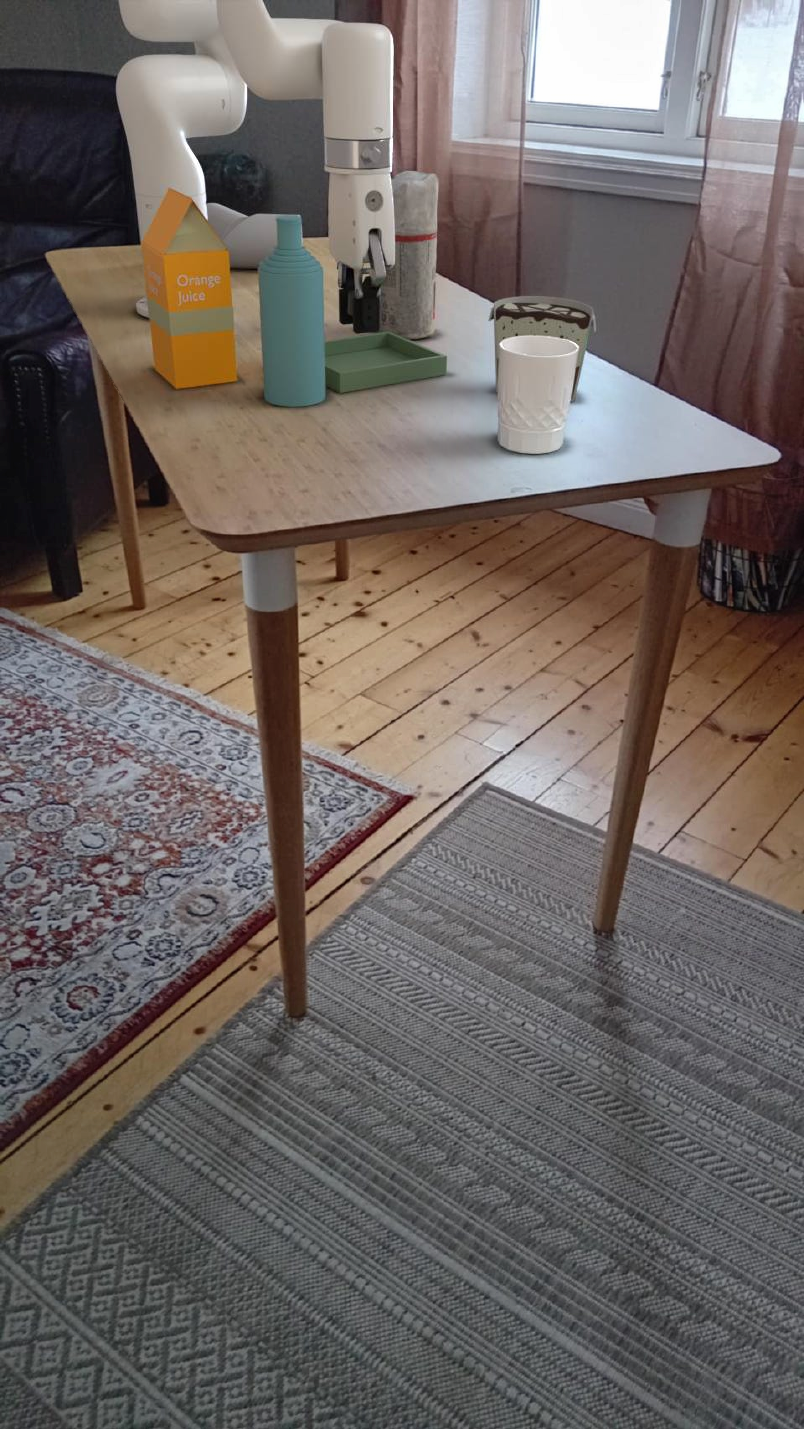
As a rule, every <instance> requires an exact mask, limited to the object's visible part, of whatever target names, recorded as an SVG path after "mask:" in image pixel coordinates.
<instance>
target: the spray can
mask: <svg viewBox="0 0 804 1429" xmlns="http://www.w3.org/2000/svg"><path fill="white" fill-rule="evenodd" d="M439 183H440V179H439V177H438V176H437V174H435V173H424V172H418V170H405V171H402V172H400V173H398V174H396V175H395V176H394V177H393V178H391V185H392V194H393V206H394V227H395V264H394V266H393V267H392V268H390V269H387V268H385V271H386V278H385V280H384V281H383V282H382V284H381V300H380V329H379V331H378V333H381V332H387V331H389V332H391V333H394V334H396V335H398V336H401V337H403V338H406V339H408V340H419V339H425V338H429V337H431V336H434V335H435V334H436V328H435V321H436V290H437V289H436V288H437V287H436V283H437V281H436V280H437V257H438V256H437V243H438V238H437V237H438V236H437V235H438V233H437V232H438V201H439V186H440V184H439Z"/></svg>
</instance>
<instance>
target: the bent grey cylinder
mask: <svg viewBox="0 0 804 1429" xmlns="http://www.w3.org/2000/svg"><path fill="white" fill-rule="evenodd" d="M282 215H283V214H279V213H278V214H276V213H256V214H253V215H249V216H248V215H246V214H243V213H241V212H238V211H237V210H233V209H231V208H229V207H227V206H224V205H222V204H219V203H216V202H208V203H207V217H208V222H209V223H210V225H211V226H212V228H213V229H214V230H215V232H216V233H217V235H218V236H219V237H220V239H221V240H222V242H223V243H224V244H225V246H226V247H227V249H228V250H229V251H230V252H229V265H230V269H249V270H250V269H253V270H254V269H255V270H258V267H259V266H260V262H261V261H263V260H265V257H266V256H268V255H269V253H270V252H271V251H274V247H276V246H278V245H277V221H276V218H277V217H278V216H282ZM293 215H294V216H299V217H301V215H300V214H293ZM302 226H303V225H302V223H301V227H302ZM302 228H303V227H302Z"/></svg>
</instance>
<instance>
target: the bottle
mask: <svg viewBox="0 0 804 1429" xmlns="http://www.w3.org/2000/svg"><path fill="white" fill-rule="evenodd" d="M281 215H282V216H278V217H277V218H276V221H277V245H278V246H276V247H274V251H271V252H270V253H269V255H268V256H266V257H265V260H263V261H261V262H260V266H259V267H258V269H257V276H258V279H257V280H258V296H259V299H258V300H259V316H260V317H259V318H260V335H261V336H260V337H261V355H262V356H261V357H262V359H261V360H262V378H263V379H262V380H263V394H264V395H263V396H264V397H263V398H264V400H265V401H266V402H267V403H270V404H272V405H275V406H280V407H290V408H299V407H309V406H314V405H318V404H320V403H322V402H324V401H325V399H326V385H325V344H324V341H325V296H324V295H325V294H324V293H325V292H324V267H323V266H322V264H321V262H320V261H319V260H317V257H315V256H314V255H312V253H311V252H310V251H309V250H307V248H306V247H305V246H303V227H301V224H302V223H303V220H302V216H300V217H299V216H294V215H295V214H281Z"/></svg>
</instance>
